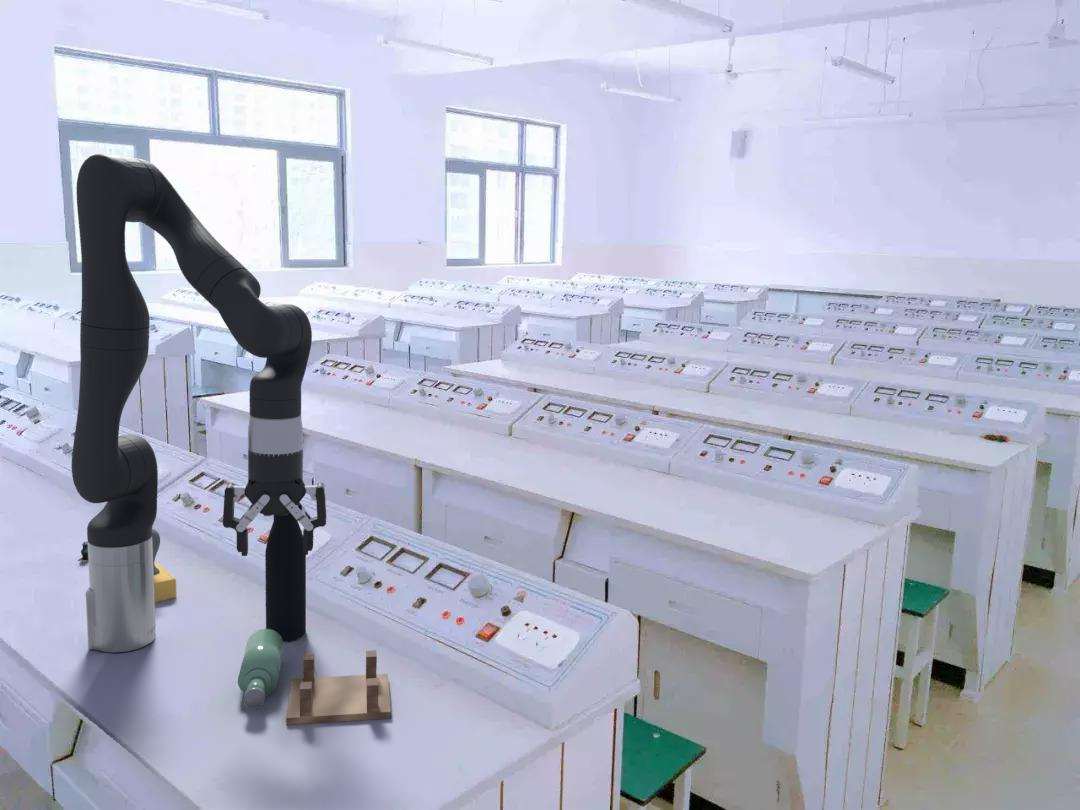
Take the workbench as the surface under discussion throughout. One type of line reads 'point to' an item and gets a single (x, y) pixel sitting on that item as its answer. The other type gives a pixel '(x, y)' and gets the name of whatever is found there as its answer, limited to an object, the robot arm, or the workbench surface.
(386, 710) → the u rest
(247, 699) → the green bottle
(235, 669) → the workbench surface
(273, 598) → the wine bottle
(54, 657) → the workbench surface
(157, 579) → the rubber stamp
